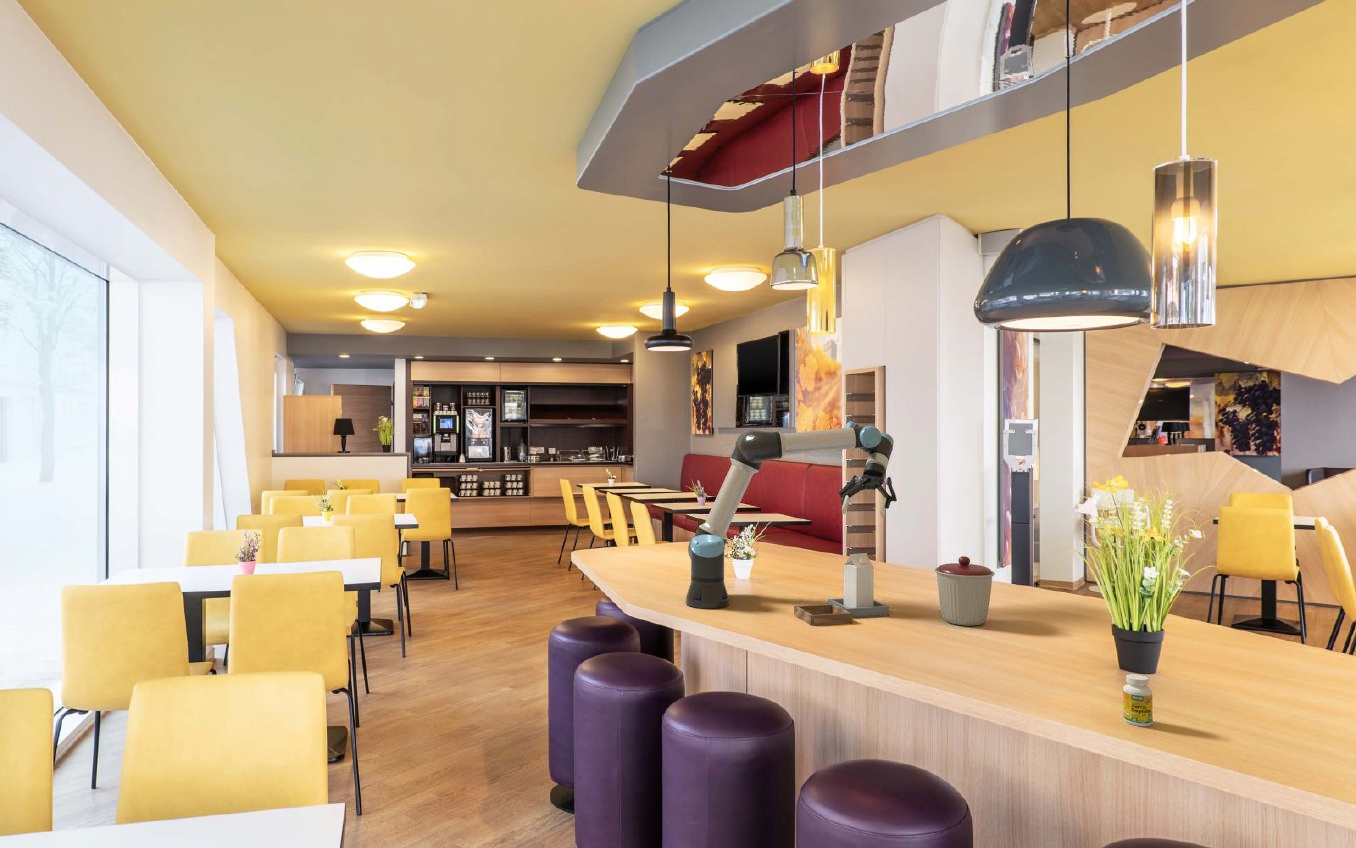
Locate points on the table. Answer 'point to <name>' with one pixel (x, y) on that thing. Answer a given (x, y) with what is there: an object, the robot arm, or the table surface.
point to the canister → (964, 592)
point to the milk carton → (858, 581)
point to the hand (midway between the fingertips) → (862, 513)
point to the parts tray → (863, 608)
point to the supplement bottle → (1137, 701)
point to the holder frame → (822, 614)
